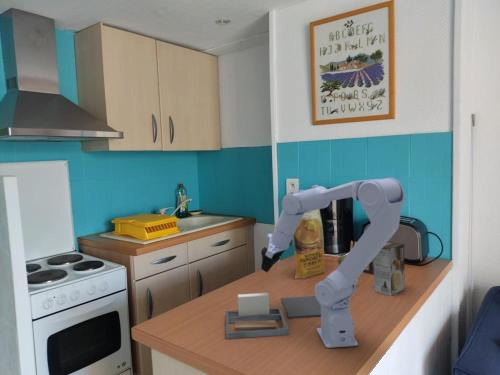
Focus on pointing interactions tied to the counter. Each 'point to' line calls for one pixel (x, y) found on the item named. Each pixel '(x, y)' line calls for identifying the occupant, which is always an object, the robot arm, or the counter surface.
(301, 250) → the pancake mix bag
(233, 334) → the rack
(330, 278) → the robot arm
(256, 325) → the offcut stack
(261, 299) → the gray rectangular block
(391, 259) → the coffee box
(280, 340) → the counter surface
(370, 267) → the ammunition clip
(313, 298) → the mat
